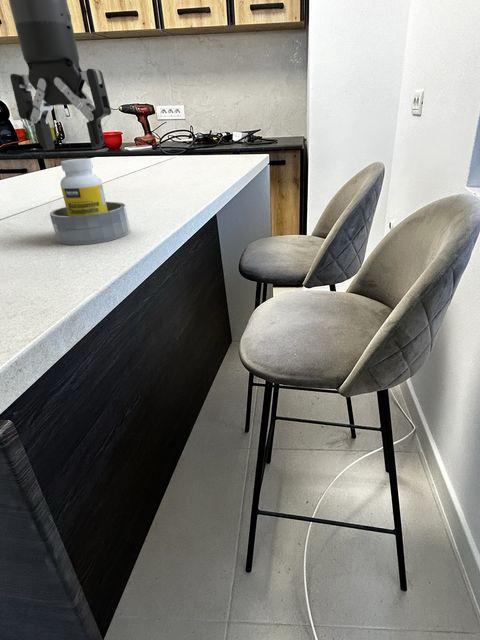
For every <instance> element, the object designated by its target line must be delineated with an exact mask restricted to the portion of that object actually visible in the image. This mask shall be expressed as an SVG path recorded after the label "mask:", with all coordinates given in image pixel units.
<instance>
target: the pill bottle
mask: <svg viewBox="0 0 480 640" xmlns="http://www.w3.org/2000/svg"><path fill="white" fill-rule="evenodd" d="M60 166H61V170H62V171H63V172H64V174H65V176H64V177H62V178H61V180H60V183H59V185H60V189H61V192H62V193H61V194H62V196H63V201H64V204H65V207H66V208H67V212H68V216H82V215H91V214H98V213H103V212H108V210H107V205H106V202H107V200H106V196H105V192H104V187H103V182H102V180H101V178H100V177H99V176H98V175H97V174H94V173H93V170H92V169H93V162H92V159H91V158H74V159H66V160H61V161H60Z"/></svg>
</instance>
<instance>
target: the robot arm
mask: <svg viewBox="0 0 480 640" xmlns="http://www.w3.org/2000/svg"><path fill="white" fill-rule="evenodd" d="M8 4H9V7H10V8H9V9H10V11H11V15H12V18H13V22H14V26H15V30H16V35H17V38H18V42H19V46H20V49H21V53H22V56H23V60H24V62H25V63H26V65H27V67H28V68H27V69H28V74H23V73H22V74H21V73H11V74H10V76H9V77H10V83H11V87H12V91H13V96H14V100H15V104H16V108H17V113H18V116H19V118H20V119H21V120H27V121H29V122H31V123H32V124H33V126H34V130H35V133H36V136H37V141H38V144H39V145H40V147H42V149H43V150H44V151H51V150H55V147H56V145H55V141H54V138H53V134H52V130H51V125H50V123H49V122H48V119H49V116H50V113H51V111H52V110H53V109H54V107H55V106H63V105H65V106H74V107H75V109H77V110H78V111H80V112H81V114H82V115H83V116H84V117H85V119H86V120H87V122H85V123H86V127H87V133H88V136H89V141H90V145H91V148H92V149H93V150H94V149H97V150H98V149H102V148H103V145H104V144H105V137H104V132H103V126H102V119H104V118H105V117H107V116H110V115H111V114H112V109H111V105H110V100H109V96H108V92H107V88H106V83H105V80H104V76H103V72H102V71H101V70H100V69H97V68H87V69H86V70H84V71H83V70H82V69H81V66H80V56H79V51H78V47H77V46H78V45H77V41H76V35H75V32H74V27H73V23H72V15H71V13H70V9H69V3H68V1H67V0H8ZM85 84H86V85H87V87H89V90H90V93H91V98H90V97H89V96H88V95H87V93H85V91H84V90H83V88H84V85H85ZM33 88H34V90H35V95H34V98H33V96H32V92H31V91H32V89H33ZM91 99H92V100H91Z"/></svg>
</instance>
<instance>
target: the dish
mask: <svg viewBox="0 0 480 640" xmlns="http://www.w3.org/2000/svg"><path fill="white" fill-rule="evenodd" d="M106 205H107V210H108V212H103V213H98V214H91V215H82V216H68V212H67V208H66V206H62V207H59V208H56V209H53V210H52V211H50V212H49V217H50V221H51V223H52V227H53V231H54V235H55V238H56V241H57V242H58V243H59V244H62V245H70V246H82V245H83V246H85V245H93V244H94V245H96V244H100V243H105V242H111V241H114V240H118V239H120V238H121V239H122V238H123V237H125V236H128V235H129V234H130V232H131V229H130V228H131V226H130V222H129V216H128V212H127V206H126V204H125V203H123V202H119V201H106Z"/></svg>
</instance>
